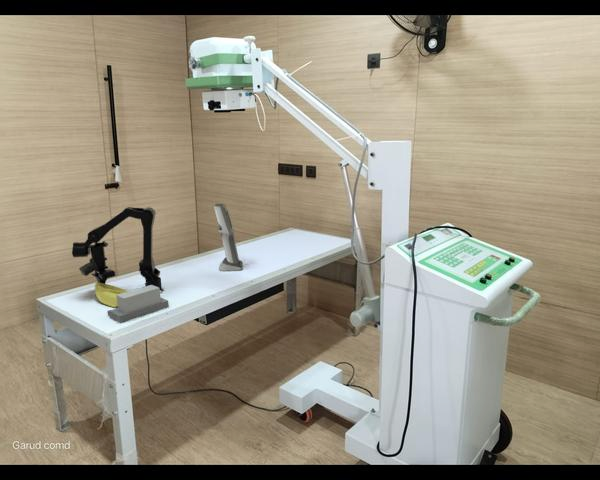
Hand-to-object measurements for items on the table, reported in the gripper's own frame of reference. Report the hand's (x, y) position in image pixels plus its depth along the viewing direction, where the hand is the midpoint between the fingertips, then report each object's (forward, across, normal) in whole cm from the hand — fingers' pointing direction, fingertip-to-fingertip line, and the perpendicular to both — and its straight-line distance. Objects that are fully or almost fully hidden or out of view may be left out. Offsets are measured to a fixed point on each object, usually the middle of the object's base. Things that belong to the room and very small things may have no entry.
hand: (102, 288), depth 222 cm
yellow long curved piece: (+3, +12, 0) cm, 12 cm away
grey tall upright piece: (+3, +14, +65) cm, 67 cm away
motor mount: (+3, +32, 0) cm, 33 cm away
